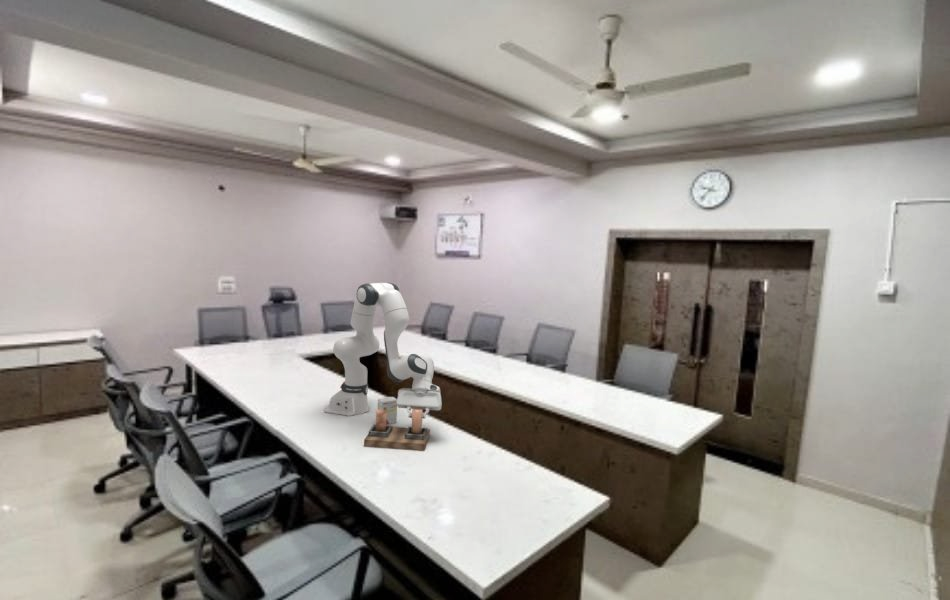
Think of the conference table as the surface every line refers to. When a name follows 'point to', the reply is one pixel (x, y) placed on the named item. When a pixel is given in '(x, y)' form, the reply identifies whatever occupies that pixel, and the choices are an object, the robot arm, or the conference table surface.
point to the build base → (394, 435)
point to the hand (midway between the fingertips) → (416, 417)
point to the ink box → (389, 408)
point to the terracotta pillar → (416, 421)
